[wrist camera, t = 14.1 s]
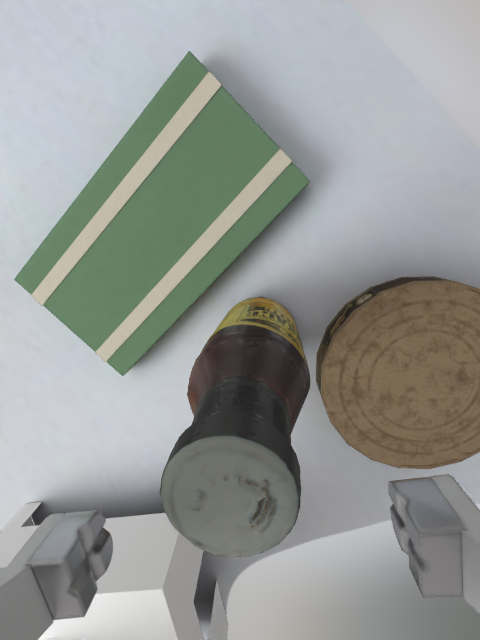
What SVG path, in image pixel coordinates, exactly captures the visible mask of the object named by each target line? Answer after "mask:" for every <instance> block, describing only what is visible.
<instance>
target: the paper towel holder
mask: <svg viewBox="0 0 480 640" xmlns="http://www.w3.org/2000/svg"><path fill="white" fill-rule="evenodd" d="M41 503H42V502H37V503H28V504H25V505H24V506H23V507H22V508H21V509H20V510H19V512H18V513H17V514H16V515H15V516H14V517H13V518H12V519H11V520H10V521H9V523H8V524H7V525H6V526H5V527H4V528H3V529H2V530H1V531H0V568H4V567H7V566H8V565H9V563H10V562H11V561H12V560H13V558H14V557H15V556H16V555H17V553H18V552H19V551H20V550H21V548H22V547H23V546H24V544H25V543H26V542H27V541H28V539H29V538H30V537H31V536H32V534H33V533H34V532H35V531H36V529H37V528H38V527H39V526H40V525H36V526H34V523H33V521H32V518H31V514H32V513H33V512H34V511H35V510H36V509H37V507H38V506H39V505H40V504H41ZM105 520H106V522H105V524H104V527H103V528H105V529H106V530H107V531H108V532H109V533H110V534H111V537H112V540H113V553H112V558H111V562H110V564H109V567H108V569H107V571H106V573H105V574H104V575H103V576H101V577H100V578H99V579H98V580H97V588H98V590H97V592H96V594H95V596H94V598H93V600H92V602H91V605H90V607H89V609H88V611H87V613H86V615H85V617H81V618H70V619H60V620H53V621H54V622H53V624H52V625H51V626H50V627H49V628H48V629H47V630H46V631H45V632H44V633H43V635H42V636H41V637H40V638H39V639H38V640H204V638H203V634H202V631H201V627H200V624H199V620H198V616H197V613H196V609H195V606H194V597H195V592H196V587H197V582H198V577H199V571H200V566H201V561H202V556H203V551H204V550H202V549H200V548H198V547H196V546H194V545H193V544H192V543H191V542H190V541H189V540H187V539H186V538H185V537H184V536H183V535H182V534H181V533H179V532H178V531H177V530H176V529H175V528H174V527H173V526H172V524H171V523H170V521H169V519H168V517H167V515H166V513H157V514H147V515H137V516H127V517H117V518H107V519H105ZM227 631H228V622H227V618H226V614H225V610H224V606H223V602H222V598H221V594H220V590H219V586H218V583H217V580H216V588H215V595H214V602H213V609H212V616H211V623H210V630H209V638H208V640H227Z"/></svg>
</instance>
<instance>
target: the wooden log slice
mask: <svg viewBox="0 0 480 640" xmlns="http://www.w3.org/2000/svg"><path fill="white" fill-rule="evenodd" d="M316 382H317V385H318V388H319V391H320V394H321V397H322V400H323V403H324V406H325V409H326V411H327V414H328V417H329V419H330V422H331V423H332V425H333V426H334V427H335V429H336V430H337V431H338V432H339V434H340V435H341V436H342V438H343V439H344V440H345V441H346V443H347V444H348V445H350V446H351V447H353V448H354V449H356V450H357V451H359V452H360V453H362V454H363V455H365V456H366V457H368V458H369V459H371V460H374V461H377V462H381V463H384V464H387V465H391V466H394V467H397V468H416V469H431V468H436V467H440V466H444V465H448V464H453V463H457V462H461V461H463V460H465V459H467V458H468V457H470V456H472V455H474V454H476V453H478V452H480V289H478V288H475V287H472V286H469V285H465V284H462V283H459V282H455V281H451V280H446V279H441V278H436V277H401V278H398V279H395V280H391V281H388V282H385V283H382V284H379V285H376V286H373V287H370V288H369V289H367V290H366V291H365V292H363V293H362V294H360V295H359V296H357V297H356V298H354V299H353V300H351V301H350V302H349V303H347V304H346V305H345V306H344V307H343V308H342V309H341V311H340V312H339V313H338V314H337V316H336V317H335V318H334V319H333V321H332V322H331V323H330V324H329V326H328V327H327V328H326V331H325V334H324V336H323V339H322V342H321V344H320V347H319V349H318V352H317V364H316Z"/></svg>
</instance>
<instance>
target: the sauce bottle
mask: <svg viewBox="0 0 480 640" xmlns="http://www.w3.org/2000/svg"><path fill="white" fill-rule="evenodd" d="M309 388H310V374H309V369H308V365H307V361H306V358H305V355H304V352H303V347H302V344H301V340H300V337H299V335H298V331H297V328H296V325H295V322H294V320H293V318H292V316H291V314H290V313H289V312H288V311H287V309H286V308H284V307H283V306H282V305H281V304H279V303H278V302H276V301H274V300H271V299H267V298H264V297H259V298H249V299H246V300H244V301H242V302H240V303H238V304H237V305H235V306H234V307H233V308H232V309H231V310H230V311H229V312H228V314H227V315H226V316H225V318H224V319H223V321H222V322H221V324H220V325H219V326H218V328H217V329H216V330H215V332H214V333H213V334H212V336H211V337H210V339H209V340H208V341H207V343H206V344H205V346H204V348H203V350H202V352H201V354H200V355H199V357H198V358H197V359H196V361H195V363H194V366H193V368H192V371H191V375H190V378H189V385H188V393H187V396H188V399H189V403H190V406H191V409H192V412H193V414H194V420H193V422H192V425H191V426H190V427H189V428H187V429H186V430H185V431H184V432H183V433H182V435H181V436H180V437H179V438H178V441H177V442H176V444H175V446H174V448H173V450H172V452H171V454H170V456H169V459H168V461H167V464H166V466H165V469H164V471H163V475H162V479H161V488H160V496H161V498H162V505H163V508H164V511H165V513H166V515H167V517H168V519H169V521H170V523H171V524H172V526H173V527H174V528H175V529H176V530H177V531H178V532H179V533H181V534H182V535H183V536H184V537H185V538H186V539H187V540H189V541H190V542H191V543H192V544H193V545H194V546H196V547H198V548H200V549H202V550H204V551H207V552H209V553H212V554H215V555H220V556H237V557H247V556H253V555H256V554H259V553H262V552H264V551H266V550H269V549H271V548H272V547H274V546H276V545H278V544H279V543H280V542H281V541H282V540H283V539H284V538H285V537H286V536H287V535H288V534H289V533H290V532H291V530H292V528H293V526H294V525H295V523H296V520H297V517H298V512H299V508H300V495H301V485H300V481H301V480H300V466H299V463H298V459H297V455H296V453H295V452H294V450H293V448H292V446H291V437H290V435H291V432H292V430H293V427H294V425H295V423H296V420H297V418H298V415H299V413H300V411H301V408H302V406H303V404H304V401H305V399H306V396H307V394H308V391H309Z"/></svg>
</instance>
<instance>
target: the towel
mask: <svg viewBox="0 0 480 640" xmlns="http://www.w3.org/2000/svg"><path fill="white" fill-rule="evenodd" d="M309 182H310V181H309V179H308V178H307V177H306V176H305V175H304V174H303V173H302V172H301V171H300V170H299V169H298V168H297V166H296V165H295V164H294V163H293V162H292V160H291V159H290V158H289V157H288V156H287V155H286V154H285V153H284V152H283V151H282V149H280V148H279V147H278V146H277V145H276V144H275V143H274V142H273V141H272V139H271V138H270V137H269V136H268V135H267V134H266V133H265V132H264V131H263V130H262V129H261V128H260V126H259V125H258V124H257V123H256V122H255V121H254V120H253V119H252V118H251V117H250V116H249V115H248V114H247V112H246V111H245V110H244V109H243V108H242V107H241V106H240V105H239V104H238V103H237V102H236V101H235V99H234V98H233V97H232V96H231V95H230V94H229V93H228V92H227V91H226V90H225V89H224V88H223V86H222V85H221V83H220V82H219V81H218V80H217V79H216V78H215V77H214V76H213V75H212V74H211V73H210V72H209V71H208V70H207V69H206V68H205V67H204V66H203V65H202V64H201V63H200V62H199V61H198V59H197V58H196V57H195V56H194V55H193V54H192V53H191V52H190V51H189V52H188V53H187V55H186V56H185V57H184V59H183V60H182V61H181V63H180V64H179V65H178V66H177V68H176V69H175V70H174V72H173V73H172V74H171V76H170V77H169V78H168V79H167V81H166V82H165V83H164V85H163V86H162V87H161V89H160V90H159V91H158V92H157V94H156V95H155V96H154V98H153V99H152V100H151V102H150V103H149V104H148V106H147V107H146V108H145V109H144V111H143V112H142V113H141V115H140V116H139V117H138V119H137V120H136V121H135V122H134V124H133V125H132V126H131V128H130V129H129V130H128V132H127V133H126V134H125V135H124V137H123V138H122V139H121V141H120V142H119V143H118V145H117V146H116V147H115V149H114V150H113V151H112V152H111V154H110V155H109V156H108V158H107V159H106V160H105V162H104V163H103V164H102V165H101V167H100V168H99V169H98V171H97V172H96V173H95V175H94V176H93V177H92V178H91V180H90V181H89V182H88V184H87V185H86V186H85V188H84V189H83V190H82V192H81V193H80V194H79V195H78V197H77V198H76V199H75V201H74V202H73V203H72V205H71V206H70V207H69V208H68V210H67V211H66V212H65V214H64V215H63V216H62V218H61V219H60V220H59V222H58V223H57V224H56V225H55V227H54V228H53V229H52V231H51V232H50V233H49V235H48V236H47V237H46V238H45V240H44V241H43V242H42V244H41V245H40V246H39V248H38V249H37V250H36V251H35V253H34V254H33V255H32V257H31V258H30V259H29V261H28V262H27V263H26V265H25V266H24V267H23V268H22V270H21V271H20V272H19V274H18V275H17V276H16V278H15V279H14V280H15V281H16V282H18V283H19V284H20V285H21V286H22V287H23V288H24V289H25V290H27V291H28V292H29V293H30V294H31V296H32V297H33V298H34V299H35V300H36V301H37V302H38V303H40V304H41V305H43V306H44V307H46V308H47V309H48V310H49V311H50V312H51V313H52V314H53V315H55V316H56V317H57V318H58V319H59V320H60V321H61V322H62V323H64V324H65V325H66V326H67V327H68V328H69V329H70V330H71V331H73V332H74V333H75V334H76V335H77V336H78V337H79V338H80V339H82V340H83V341H84V342H85V343H86V344H87V345H88V346H89V347H90V348H92V349H93V350H94V351H95V353H96V354H97V355H98V356H99V357H100V358H101V359H102V360H104V361H105V362H107V363H108V364H110V365H111V366H112V367H113V368H114V369H115V370H116V371H117V372H119V373H120V374H121V375H122V376H123V375H125V374H126V373H127V372H128V371H129V370H130V369H131V368H132V367H133V366H134V365H135V364H136V363H137V362H138V361H139V360H140V359H141V358H142V356H143V355H144V354H145V353H146V352H147V351H148V350H149V349H150V348H151V347H152V346H153V345H154V344H155V343H156V342H157V341H158V340H159V339H160V338H161V337H162V336H163V335H164V334H165V333H166V332H167V331H168V329H169V328H170V327H171V326H172V325H173V324H174V323H175V322H176V321H177V320H178V319H179V318H180V317H181V316H182V315H183V314H184V313H185V312H186V311H187V310H188V309H189V308H190V307H191V306H192V305H193V303H194V302H195V301H196V300H197V299H198V298H199V297H200V296H201V295H202V294H203V293H204V292H205V291H206V290H207V289H208V288H209V287H210V286H211V285H212V284H213V283H214V282H215V281H216V280H217V279H218V277H219V276H220V275H221V274H222V273H223V272H224V271H225V270H226V269H227V268H228V267H229V266H230V265H231V264H232V263H233V262H234V261H235V260H236V259H237V258H238V257H239V256H240V255H241V254H242V253H243V252H244V250H245V249H246V248H247V247H248V246H249V245H250V244H251V243H252V242H253V241H254V240H255V239H256V238H257V237H258V236H259V235H260V234H261V233H262V232H263V231H264V230H265V229H266V228H267V227H268V226H269V224H270V223H271V222H272V221H273V220H274V219H275V218H276V217H277V216H278V215H279V214H280V213H281V212H282V211H283V210H284V209H285V208H286V207H287V206H288V205H289V204H290V203H291V202H292V201H293V200H294V199H295V197H296V196H297V195H298V194H299V193H300V192H301V191H302V190H303V189H304V188H305V187H306V186H307V185H308V183H309Z"/></svg>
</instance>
